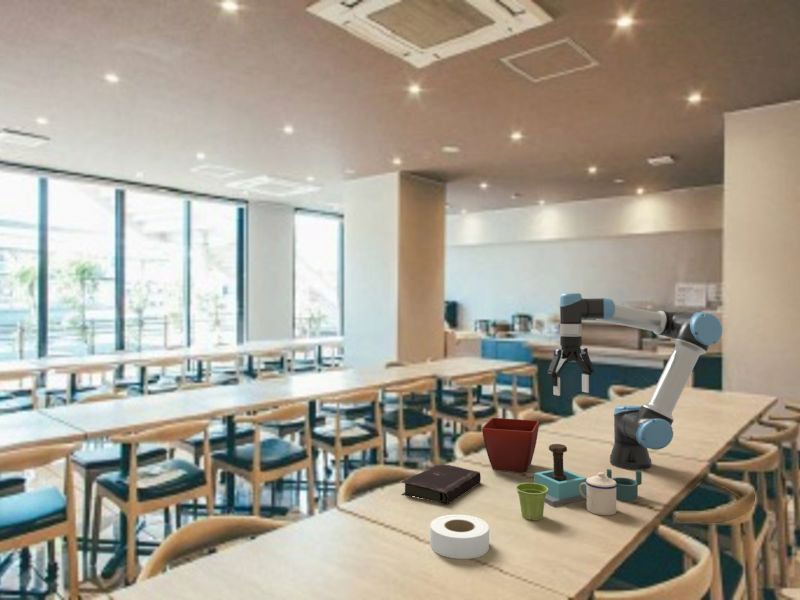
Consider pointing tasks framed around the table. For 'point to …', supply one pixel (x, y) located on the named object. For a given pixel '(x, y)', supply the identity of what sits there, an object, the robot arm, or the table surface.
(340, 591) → the table surface
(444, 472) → the diary
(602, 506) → the teacup with lid
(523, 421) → the plant pot
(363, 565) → the table surface
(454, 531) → the roll of tape
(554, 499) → the socket
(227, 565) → the table surface
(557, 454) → the bolt
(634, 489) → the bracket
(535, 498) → the plant pot
